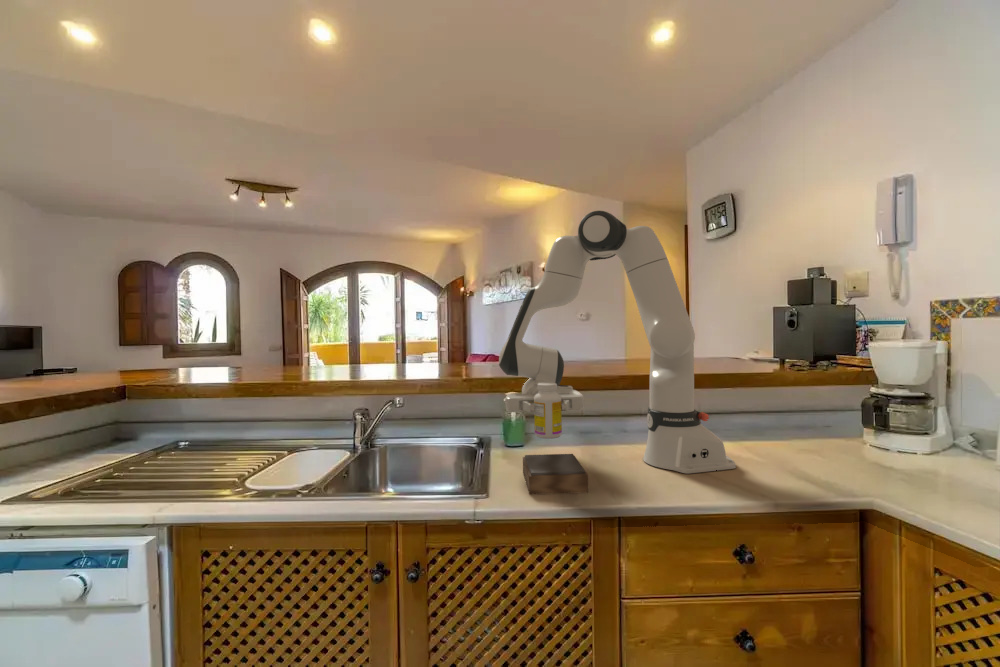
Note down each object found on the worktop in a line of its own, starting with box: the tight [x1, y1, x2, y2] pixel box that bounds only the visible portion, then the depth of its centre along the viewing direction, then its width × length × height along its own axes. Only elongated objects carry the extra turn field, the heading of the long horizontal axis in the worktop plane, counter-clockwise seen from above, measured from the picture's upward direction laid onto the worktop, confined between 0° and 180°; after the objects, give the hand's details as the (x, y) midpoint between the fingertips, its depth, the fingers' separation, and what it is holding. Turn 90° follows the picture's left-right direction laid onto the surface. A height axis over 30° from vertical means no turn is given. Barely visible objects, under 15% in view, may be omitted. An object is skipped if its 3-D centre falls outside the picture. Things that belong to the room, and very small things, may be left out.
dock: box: [522, 453, 589, 495], centre depth 106 cm, size 13×14×5 cm
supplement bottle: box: [533, 383, 563, 440], centre depth 111 cm, size 7×7×13 cm
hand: (548, 408), depth 110 cm, fingers closed on supplement bottle, 7 cm apart
